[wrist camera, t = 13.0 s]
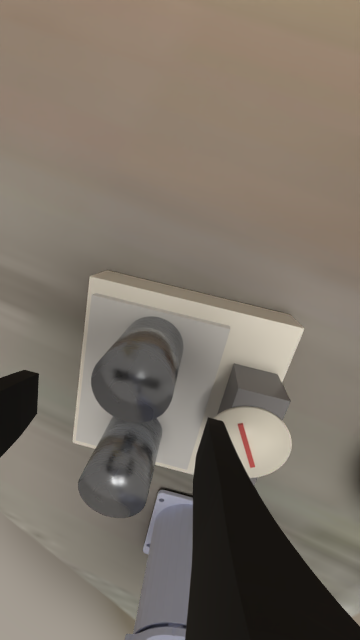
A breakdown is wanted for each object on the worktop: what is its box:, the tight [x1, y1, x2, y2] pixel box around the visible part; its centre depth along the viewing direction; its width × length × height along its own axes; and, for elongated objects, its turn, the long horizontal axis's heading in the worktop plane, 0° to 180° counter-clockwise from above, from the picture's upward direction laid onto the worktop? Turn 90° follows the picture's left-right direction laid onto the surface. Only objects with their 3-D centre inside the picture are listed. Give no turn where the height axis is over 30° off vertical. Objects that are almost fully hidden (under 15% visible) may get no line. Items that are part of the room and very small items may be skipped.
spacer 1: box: [91, 316, 183, 423], centre depth 15 cm, size 4×4×5 cm
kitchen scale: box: [72, 270, 304, 485], centre depth 19 cm, size 14×15×6 cm
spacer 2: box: [78, 416, 162, 518], centre depth 17 cm, size 4×4×5 cm
